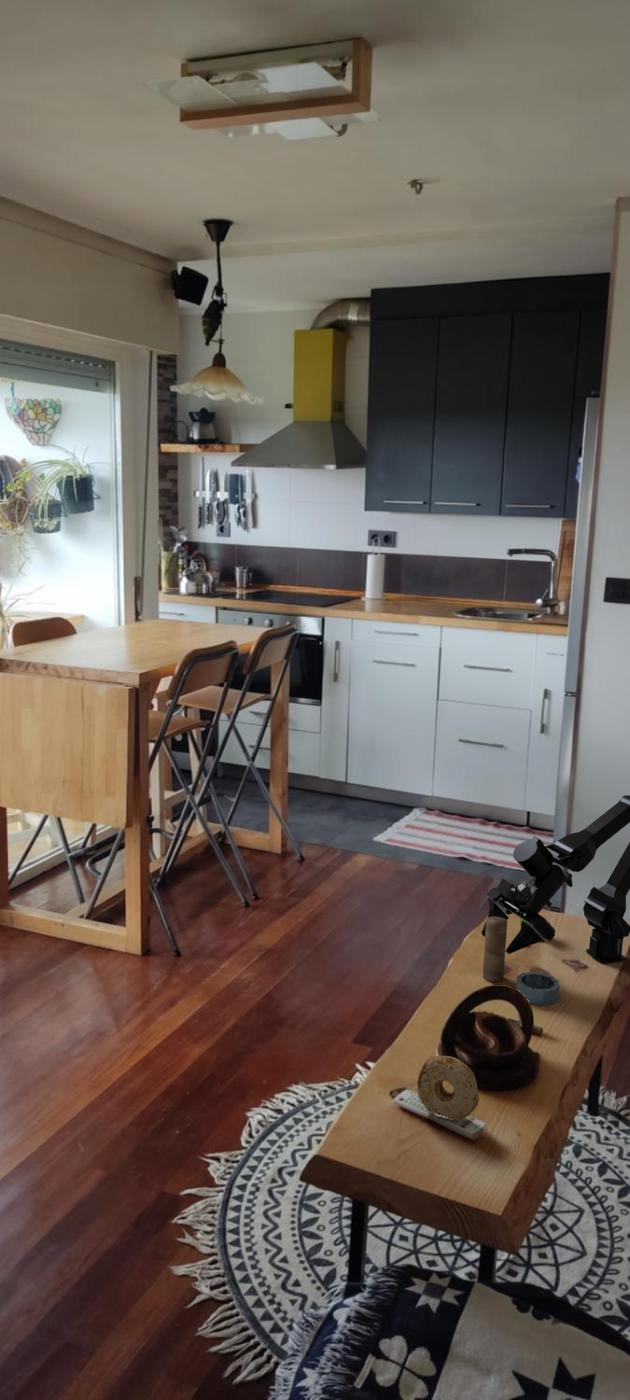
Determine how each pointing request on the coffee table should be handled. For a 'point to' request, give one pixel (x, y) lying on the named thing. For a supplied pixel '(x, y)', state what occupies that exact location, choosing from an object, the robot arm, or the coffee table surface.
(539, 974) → the metal collar
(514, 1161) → the coffee table surface
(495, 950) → the walnut shaft
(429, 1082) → the stone disc
